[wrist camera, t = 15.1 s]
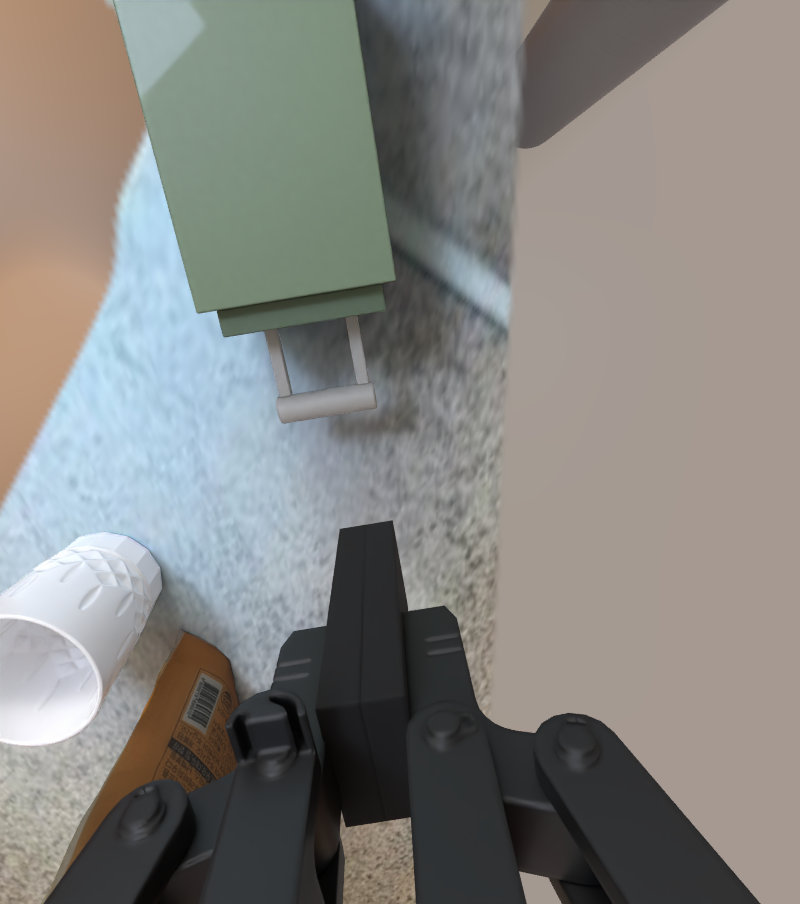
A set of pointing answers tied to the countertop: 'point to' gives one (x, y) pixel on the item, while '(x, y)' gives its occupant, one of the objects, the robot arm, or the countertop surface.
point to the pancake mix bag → (171, 735)
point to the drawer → (307, 312)
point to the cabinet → (262, 145)
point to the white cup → (71, 635)
